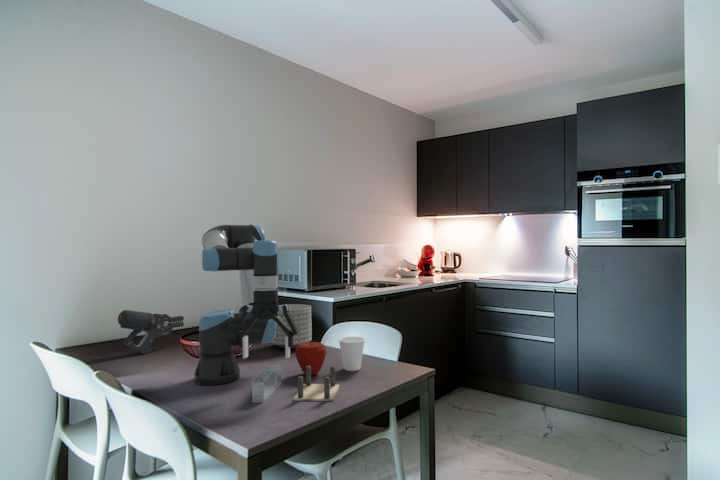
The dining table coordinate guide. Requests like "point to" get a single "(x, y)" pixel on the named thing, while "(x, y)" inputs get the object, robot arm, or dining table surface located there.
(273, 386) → the grey stepped post
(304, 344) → the apple
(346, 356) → the cup
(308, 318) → the planter
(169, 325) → the gun
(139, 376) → the dining table surface
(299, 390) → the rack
